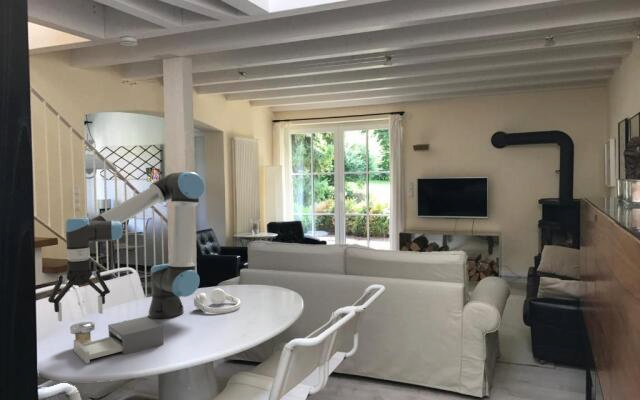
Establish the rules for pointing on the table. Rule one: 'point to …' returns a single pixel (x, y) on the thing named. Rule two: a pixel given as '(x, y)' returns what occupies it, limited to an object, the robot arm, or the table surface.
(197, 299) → the headphones
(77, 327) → the disc
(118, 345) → the tray
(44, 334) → the table surface
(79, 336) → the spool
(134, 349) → the housing
